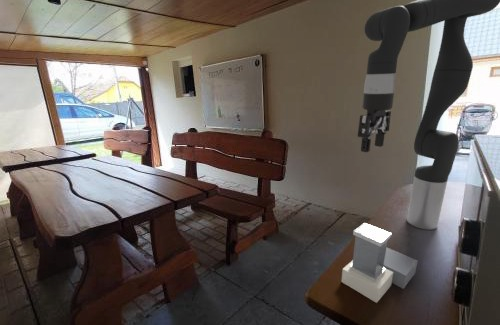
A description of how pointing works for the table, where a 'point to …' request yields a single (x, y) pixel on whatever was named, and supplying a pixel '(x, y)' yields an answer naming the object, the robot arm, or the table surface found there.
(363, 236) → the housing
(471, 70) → the robot arm
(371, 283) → the stand
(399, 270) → the stand
